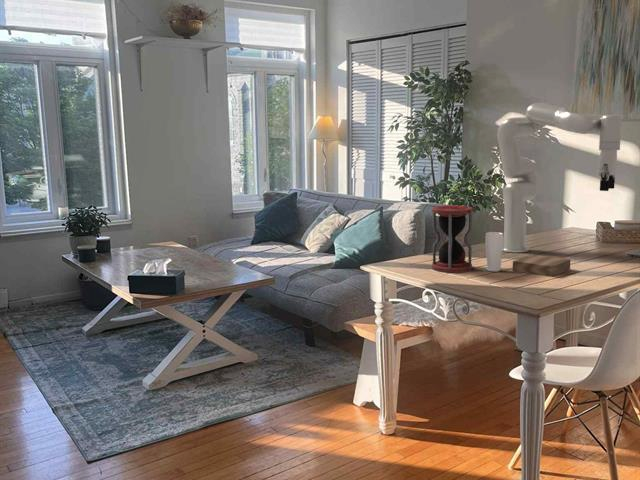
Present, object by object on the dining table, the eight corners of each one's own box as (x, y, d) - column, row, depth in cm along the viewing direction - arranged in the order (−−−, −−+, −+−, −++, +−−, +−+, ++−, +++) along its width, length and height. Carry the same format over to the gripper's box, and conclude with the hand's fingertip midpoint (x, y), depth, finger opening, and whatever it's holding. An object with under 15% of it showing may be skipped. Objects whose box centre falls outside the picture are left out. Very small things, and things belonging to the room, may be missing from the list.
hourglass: (470, 273, 246) (471, 210, 241) (428, 271, 251) (429, 209, 246) (473, 265, 261) (474, 205, 256) (434, 263, 266) (435, 204, 261)
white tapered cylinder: (503, 269, 252) (503, 232, 249) (502, 272, 246) (503, 235, 243) (485, 268, 254) (486, 231, 251) (484, 271, 248) (484, 234, 245)
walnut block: (512, 270, 248) (512, 260, 248) (532, 264, 259) (532, 254, 259) (551, 276, 237) (551, 266, 236) (570, 269, 248) (570, 259, 247)
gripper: (604, 145, 257) (602, 187, 260) (593, 147, 243) (591, 191, 246) (624, 145, 252) (621, 188, 255) (614, 147, 239) (612, 192, 242)
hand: (607, 189), depth 251 cm, fingers open, 9 cm apart
